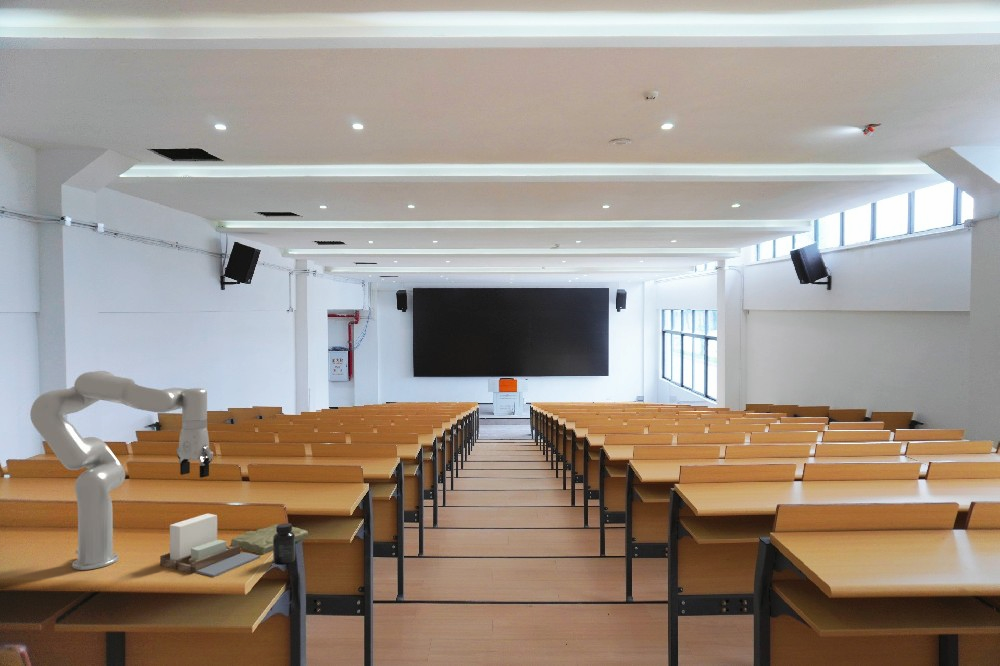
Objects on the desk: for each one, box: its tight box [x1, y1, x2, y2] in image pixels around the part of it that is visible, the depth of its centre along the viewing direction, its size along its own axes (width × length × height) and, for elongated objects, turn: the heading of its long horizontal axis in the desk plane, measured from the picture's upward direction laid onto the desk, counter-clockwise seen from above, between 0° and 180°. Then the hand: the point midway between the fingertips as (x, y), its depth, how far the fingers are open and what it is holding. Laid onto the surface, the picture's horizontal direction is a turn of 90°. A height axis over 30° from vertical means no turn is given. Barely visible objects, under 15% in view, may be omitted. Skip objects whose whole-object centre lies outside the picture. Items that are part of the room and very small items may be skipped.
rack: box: [159, 545, 241, 574], centre depth 197 cm, size 16×18×3 cm
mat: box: [196, 551, 261, 578], centre depth 193 cm, size 8×18×1 cm, turn 154°
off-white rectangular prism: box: [169, 512, 218, 561], centre depth 199 cm, size 5×14×13 cm, turn 154°
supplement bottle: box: [272, 522, 296, 566], centre depth 196 cm, size 7×7×12 cm
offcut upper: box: [191, 539, 227, 560], centre depth 196 cm, size 4×10×3 cm, turn 150°
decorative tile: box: [230, 523, 309, 555], centre depth 215 cm, size 19×20×4 cm
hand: (194, 475), depth 199 cm, fingers open, 9 cm apart
